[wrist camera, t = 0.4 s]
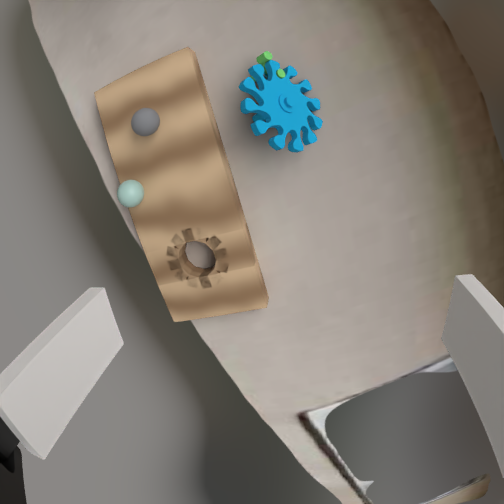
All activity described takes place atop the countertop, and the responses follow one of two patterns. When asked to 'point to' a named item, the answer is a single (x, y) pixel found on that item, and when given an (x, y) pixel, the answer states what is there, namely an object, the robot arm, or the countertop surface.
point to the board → (182, 189)
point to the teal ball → (130, 193)
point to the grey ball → (145, 122)
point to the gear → (280, 104)
